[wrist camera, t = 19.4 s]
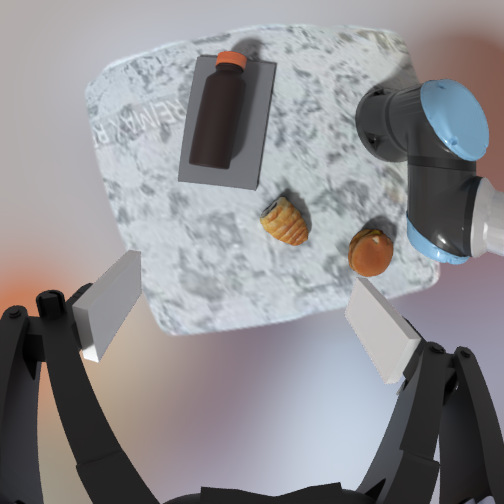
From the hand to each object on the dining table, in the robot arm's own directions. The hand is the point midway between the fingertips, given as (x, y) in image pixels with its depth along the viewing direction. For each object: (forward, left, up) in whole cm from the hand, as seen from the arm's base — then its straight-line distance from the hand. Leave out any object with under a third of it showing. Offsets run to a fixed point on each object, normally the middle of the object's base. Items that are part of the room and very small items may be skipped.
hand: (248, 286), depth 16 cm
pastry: (-8, +3, -35) cm, 36 cm away
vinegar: (+6, -5, -30) cm, 32 cm away
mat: (+5, -14, -35) cm, 38 cm away
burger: (-27, +6, -35) cm, 44 cm away
